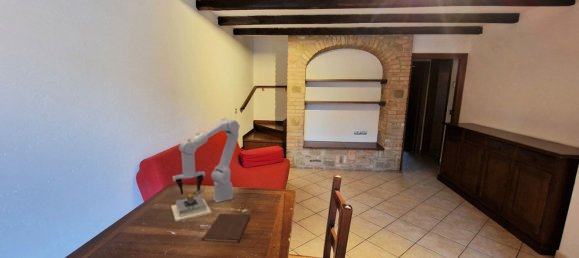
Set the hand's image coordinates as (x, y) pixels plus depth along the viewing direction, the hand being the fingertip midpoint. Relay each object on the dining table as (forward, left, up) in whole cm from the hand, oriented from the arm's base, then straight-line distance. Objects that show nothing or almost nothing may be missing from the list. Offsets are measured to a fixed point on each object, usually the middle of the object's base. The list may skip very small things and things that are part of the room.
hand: (190, 191), depth 125 cm
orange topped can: (0, +1, -8) cm, 8 cm away
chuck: (0, +1, -9) cm, 9 cm away
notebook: (-11, +25, -10) cm, 29 cm away
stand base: (0, +1, -9) cm, 9 cm away
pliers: (-3, -17, -10) cm, 20 cm away
